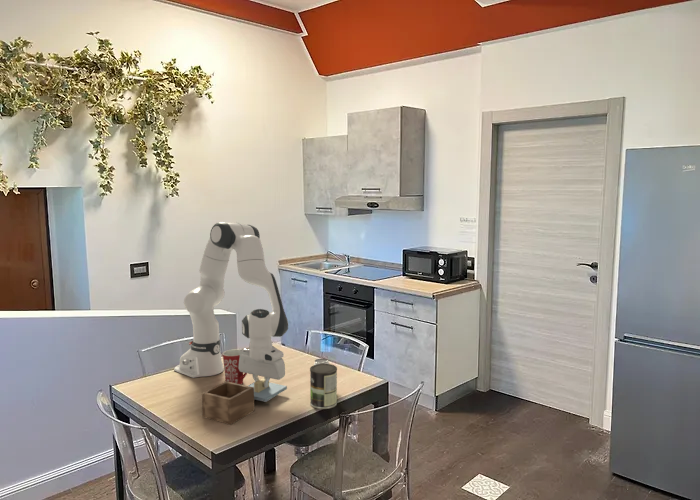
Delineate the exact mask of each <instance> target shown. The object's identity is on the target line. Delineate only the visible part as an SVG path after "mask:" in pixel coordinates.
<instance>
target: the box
mask: <svg viewBox="0 0 700 500" xmlns="http://www.w3.org/2000/svg"><path fill="white" fill-rule="evenodd" d="M201 405H202V407H201V408H202V418H204V419H209V420H212V421H215V422H220V423H223V424H227V425H230V426H232V425H233V424H235V423H236V422H238V421H239V420H241V419H242V418H245V417H246V416H248V415H250V414H251V413H253V412H254V411H255V399H254V387H250V386H248V385H245V384H237V383H232V382H228V381H226V382H225V381H224V382H222V383H220V384H218V385H215V386H214V387H212V388H209V389H207V390H205V391H203V392H201Z"/></svg>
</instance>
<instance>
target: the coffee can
mask: <svg viewBox="0 0 700 500" xmlns="http://www.w3.org/2000/svg"><path fill="white" fill-rule="evenodd" d="M309 372H310V373H309V374H310V377H309V378H310V381H309V383H310V389H309V390H310V395H309V396H310V397H309V398H310V406H311V407H312V408H315V409H318V410H327V409H329V410H330V409H332V408H335V407H336V406H337V403H338V401H337V400H338V399H337V396H338V393H337V388H338V387H337V385H338V384H337V383H338V367H337V365H334V364H332V363H329V364H317V365H314V364H313V365H312V366H310V368H309Z"/></svg>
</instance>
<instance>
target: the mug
mask: <svg viewBox="0 0 700 500" xmlns="http://www.w3.org/2000/svg"><path fill="white" fill-rule="evenodd" d="M241 350H242V349H237V348H234V349H228V350H224V351H222V353H221V356H222V358H223V361H222V363H223V368H224V370H223V372H224V382H226V381H228V382H232V383H237V384H241V385H244V384H243V383H244V379H245V377H246V376H247V375H248V373H243V372H240V371H239V358H240V351H241Z"/></svg>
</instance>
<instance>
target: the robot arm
mask: <svg viewBox="0 0 700 500" xmlns="http://www.w3.org/2000/svg"><path fill="white" fill-rule="evenodd" d="M209 236H210V237H209V239H208V241H207V243H206V246H205V247H204V251H203V254H202V259H201V261H200V262H201V263H200V266H199V269H198V270H199V271H198V272H199V273H200V283H199V285H198V286H197V287H195V288H193V289H191V290H190V291H189V292H188V293H187V294H186V295H185V297H184V299H183V306H184V308H185V310H186V311H187V312H188V314H189V316H190V319H191V323H192V332H193V333H192V335H193V340H191V341H189V342H188V345H189V346H190V348H189V349H188V350H187V351H186V352H184V353H183V354H182V355H181V356H180V358H179V364H178V365H176V366H175V367H174V369H173V371H175V372H177V373H179V374H182V375H185V376H187V377H189V378H194V379H195V378H199V377H210V376H216V375H219V374H220V373H222V372H224V362H223V361H222V353H221V338H220V327H219V326H220V325H219V324H220V323H219V321H218V320H217V318H216V316H215V315H216V314H215V312H214V309H215V307H217V306H218V305H219V304H220V303H221V302H222V301H223V299H224V298H225V289H224V286H225V285H224V284H225V275H226V271H227V268H228V265H229V261H230V258H231V254H232V251H233V250H234V251H235V253H236V264H237V272H238V276H239V278H241V280H243V281H244V282H246V283H247V284H250V285H252V286H256V287H259V288H261V289H263V290H265V291H266V292H267V294H268V297H269V301H270V304H271V309H272V312H270V311H269V310H268V309H263V308H258V309H254V310H251V311H250V314H247V315H245V316H244V317H243V318H242V319H241V334H242V335H243V336H244V337H245V338H247V339H249V345H248V346H249V347H248V349H247V348H242V349H240V350H241V351H240V358H239V371H240V372H243V374H244V373H247V375H248V374H249V375H252V378H253V381H254V382H257V381H259V380H260V379H259V377H262V378H264V379H266V380H265V382H263V383H262V387H265V388H266V387H268V382H270V380H271V379H272V380H278V381H279V380H282V379H283V378H284V377H285V376H286V365H285V364H286V363H285V361H284V359H283V357H284V354H285V353H284V351H282V350H280V349H278V348H276V347H275V346H273V341H272V337H273V338H275V337H280V338H281V337H283V336H284V335H285V334H286V333H287V331H288V329H289V321H288V318H287V315H286V312H285V308H284V305H283V303H282V298H281V294H280V290H279V286H278V283H277V280H276V277H275V276H274V274H273V273H272V272H270V271H269V270H268V269H267V267H266V261H265V255H264V249H263V244H262V242H261V239H260V232H259V230H258V228H257V227H255V226H253V225H251V224H245V223H241V222H226V221H220V222H216V223H214V224H213V225H212V227H211V230H210V233H209Z"/></svg>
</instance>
